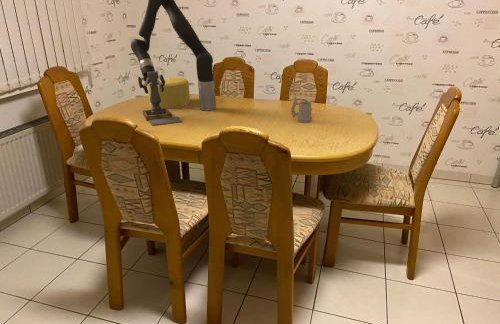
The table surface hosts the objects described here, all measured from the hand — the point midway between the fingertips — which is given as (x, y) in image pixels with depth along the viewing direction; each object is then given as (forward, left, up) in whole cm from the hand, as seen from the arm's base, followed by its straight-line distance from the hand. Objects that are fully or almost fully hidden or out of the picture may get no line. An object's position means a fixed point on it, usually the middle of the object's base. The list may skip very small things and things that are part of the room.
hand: (155, 92), depth 210 cm
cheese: (-13, -29, -14) cm, 35 cm away
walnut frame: (0, -1, -14) cm, 14 cm away
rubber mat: (-2, +12, -14) cm, 19 cm away
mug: (-70, +42, -14) cm, 83 cm away
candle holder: (0, -1, -14) cm, 14 cm away
